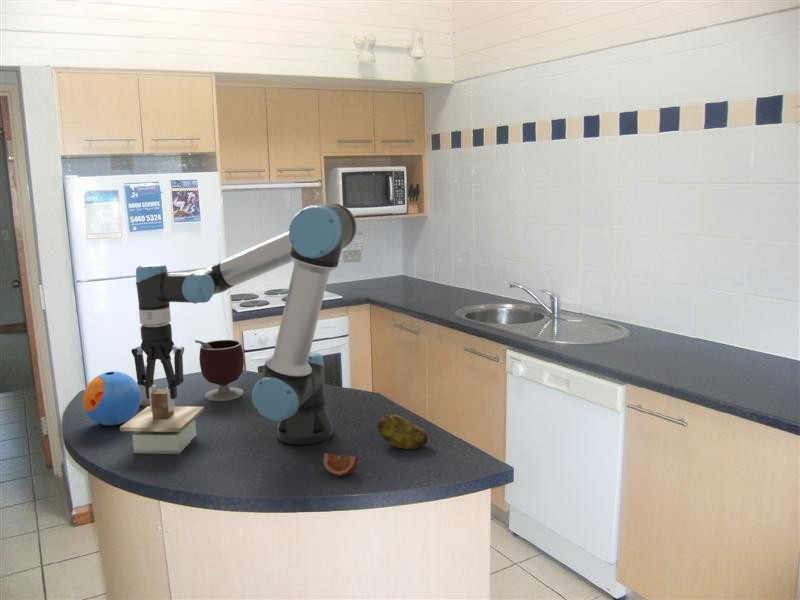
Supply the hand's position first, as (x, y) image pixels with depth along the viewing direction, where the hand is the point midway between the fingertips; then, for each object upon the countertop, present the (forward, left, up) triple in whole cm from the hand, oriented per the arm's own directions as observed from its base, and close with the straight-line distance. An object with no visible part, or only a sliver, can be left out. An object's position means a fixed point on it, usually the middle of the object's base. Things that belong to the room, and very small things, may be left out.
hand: (163, 410), depth 176 cm
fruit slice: (-50, +16, -10) cm, 54 cm away
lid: (0, 0, -3) cm, 3 cm away
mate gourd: (-1, -41, -10) cm, 42 cm away
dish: (0, 0, -10) cm, 10 cm away
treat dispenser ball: (+22, -15, -10) cm, 28 cm away
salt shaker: (+20, -32, -10) cm, 39 cm away
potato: (-63, -1, -10) cm, 64 cm away
